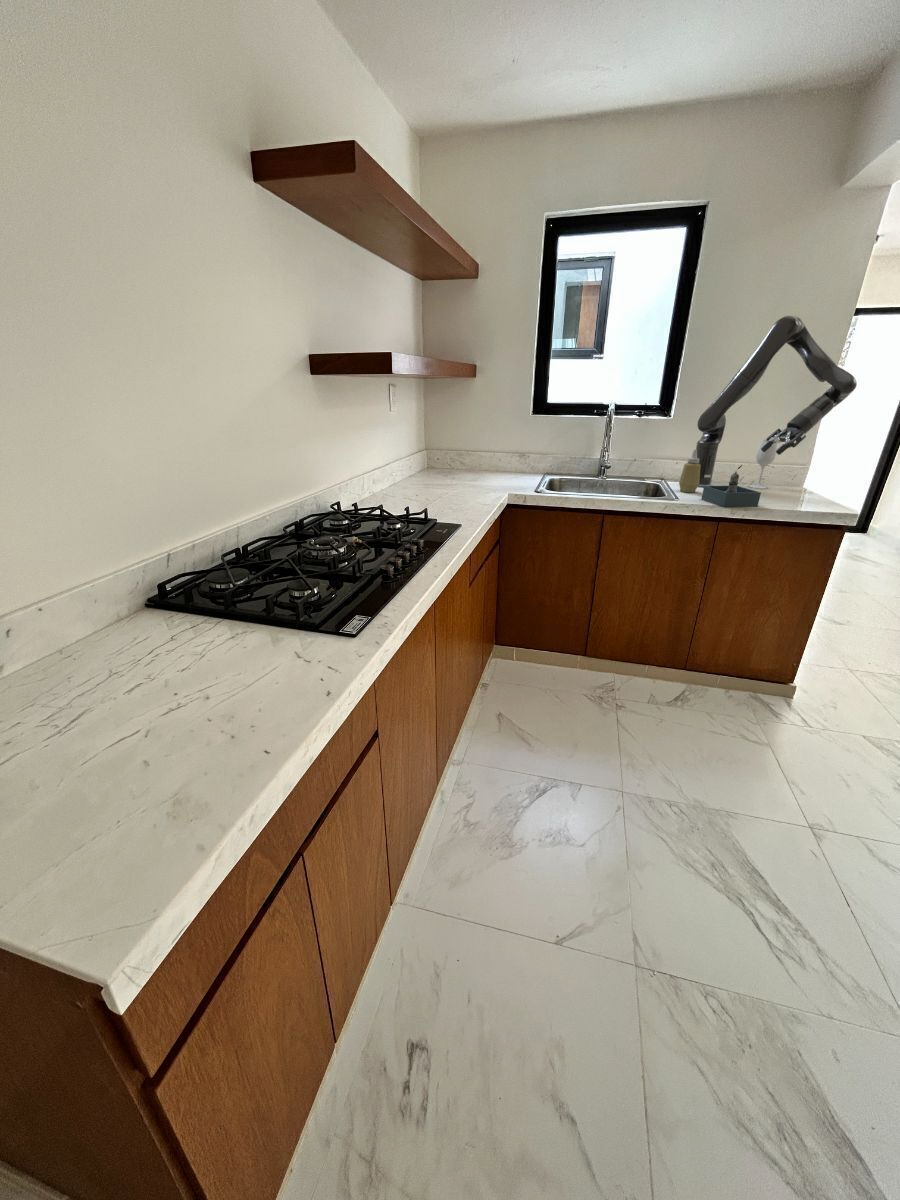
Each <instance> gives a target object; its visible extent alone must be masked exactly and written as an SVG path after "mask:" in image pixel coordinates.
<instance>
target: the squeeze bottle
mask: <svg viewBox="0 0 900 1200" xmlns="http://www.w3.org/2000/svg"><path fill="white" fill-rule="evenodd" d="M698 463H699V459H698V458H697V450H696V449H693V451H692V454H691V456H690V457H688V458H687V460H686V463H684V464H683V469H682V472H681V475H680V478H679V482H678V483H679V491H680V492H682V493H690V494H691V493H695V492H696V490H697V488H698V487H699V486H698V485H699V479H700V467H701V465H700V464H698Z"/></svg>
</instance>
